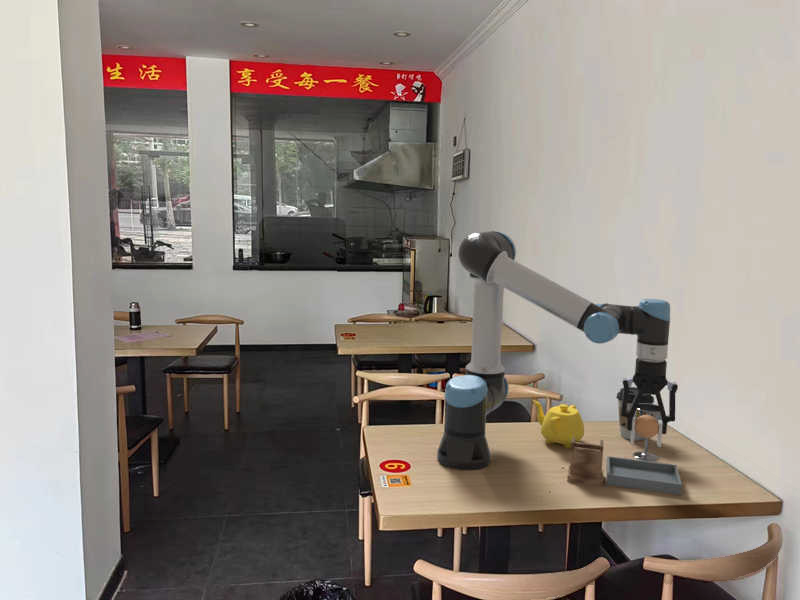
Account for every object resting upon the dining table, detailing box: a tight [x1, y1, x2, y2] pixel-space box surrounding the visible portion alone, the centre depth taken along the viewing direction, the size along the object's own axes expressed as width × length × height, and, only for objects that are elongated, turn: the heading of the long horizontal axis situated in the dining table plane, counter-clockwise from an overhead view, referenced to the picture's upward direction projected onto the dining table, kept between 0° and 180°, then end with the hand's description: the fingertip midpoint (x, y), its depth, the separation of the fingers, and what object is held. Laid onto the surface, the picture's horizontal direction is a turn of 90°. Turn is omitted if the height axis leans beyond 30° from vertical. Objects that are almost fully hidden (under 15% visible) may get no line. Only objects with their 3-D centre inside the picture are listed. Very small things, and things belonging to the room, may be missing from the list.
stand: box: [566, 437, 604, 487], centre depth 166 cm, size 9×7×10 cm
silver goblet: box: [632, 403, 662, 462], centre depth 182 cm, size 8×8×15 cm
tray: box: [605, 455, 683, 496], centre depth 167 cm, size 18×13×3 cm
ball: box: [635, 415, 659, 439], centre depth 165 cm, size 6×6×6 cm
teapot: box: [532, 399, 585, 449], centre depth 193 cm, size 14×14×12 cm
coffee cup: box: [615, 386, 655, 441], centre depth 198 cm, size 11×11×15 cm
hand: (645, 443), depth 165 cm, fingers closed on ball, 6 cm apart
